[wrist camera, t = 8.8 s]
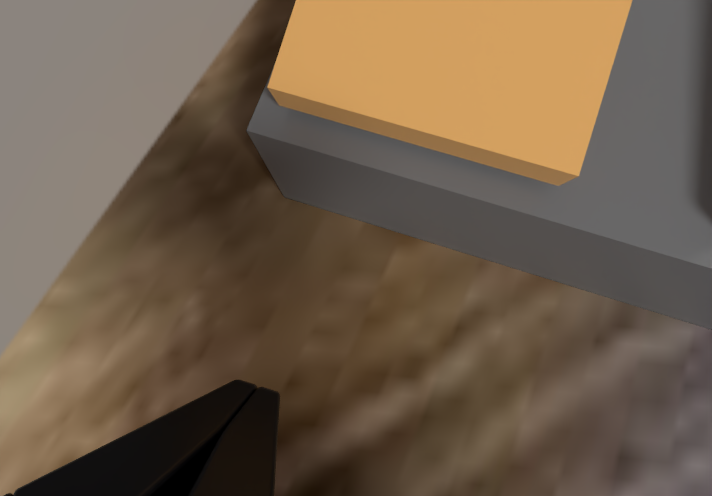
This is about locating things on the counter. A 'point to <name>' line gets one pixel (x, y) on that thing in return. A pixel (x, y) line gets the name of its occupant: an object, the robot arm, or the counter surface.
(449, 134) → the orange and white panel
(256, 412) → the robot arm
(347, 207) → the switch strip
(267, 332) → the counter surface
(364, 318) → the counter surface
